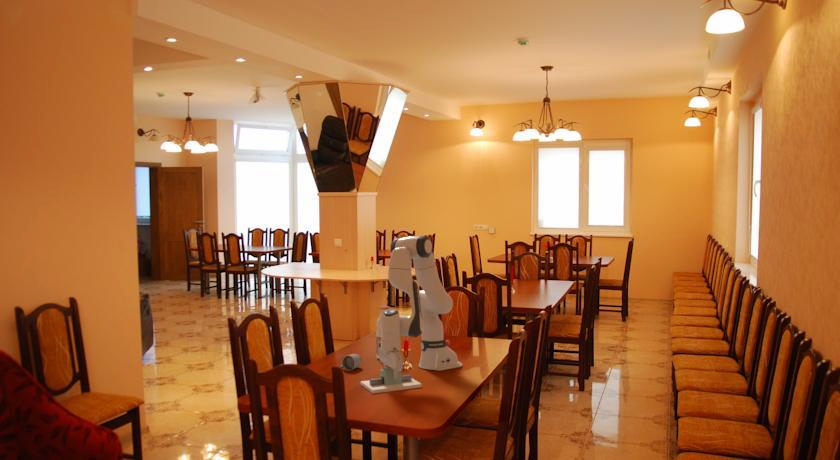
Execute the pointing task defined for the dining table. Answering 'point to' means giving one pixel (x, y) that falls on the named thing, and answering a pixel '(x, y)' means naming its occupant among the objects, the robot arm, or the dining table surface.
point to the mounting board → (390, 386)
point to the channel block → (390, 376)
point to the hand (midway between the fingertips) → (391, 375)
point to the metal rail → (381, 380)
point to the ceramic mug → (351, 362)
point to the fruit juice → (379, 329)
